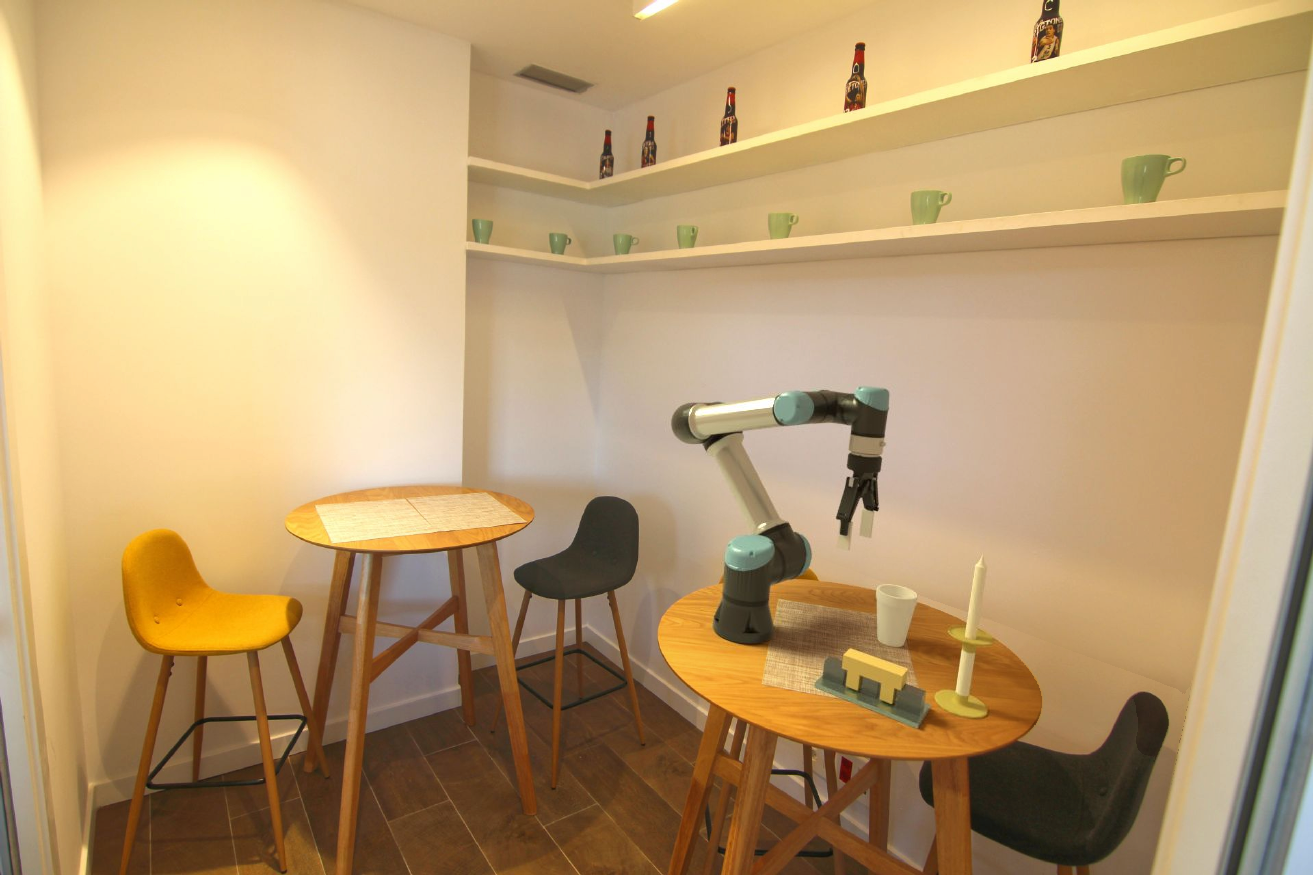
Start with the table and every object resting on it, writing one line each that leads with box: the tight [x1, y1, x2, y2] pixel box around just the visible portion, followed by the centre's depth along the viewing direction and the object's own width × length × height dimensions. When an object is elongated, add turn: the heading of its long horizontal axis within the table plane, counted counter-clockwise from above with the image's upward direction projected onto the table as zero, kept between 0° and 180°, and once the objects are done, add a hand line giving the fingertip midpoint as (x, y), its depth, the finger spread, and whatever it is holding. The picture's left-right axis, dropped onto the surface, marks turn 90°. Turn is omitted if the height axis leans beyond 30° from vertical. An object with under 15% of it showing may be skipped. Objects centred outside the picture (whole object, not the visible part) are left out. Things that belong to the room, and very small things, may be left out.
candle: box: [934, 554, 995, 720], centre depth 125 cm, size 10×10×32 cm
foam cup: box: [875, 583, 918, 648], centre depth 153 cm, size 10×9×13 cm
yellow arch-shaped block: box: [842, 648, 909, 704], centre depth 127 cm, size 12×4×6 cm, turn 52°
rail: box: [813, 655, 931, 729], centre depth 127 cm, size 21×9×5 cm, turn 52°
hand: (854, 542), depth 145 cm, fingers open, 13 cm apart
